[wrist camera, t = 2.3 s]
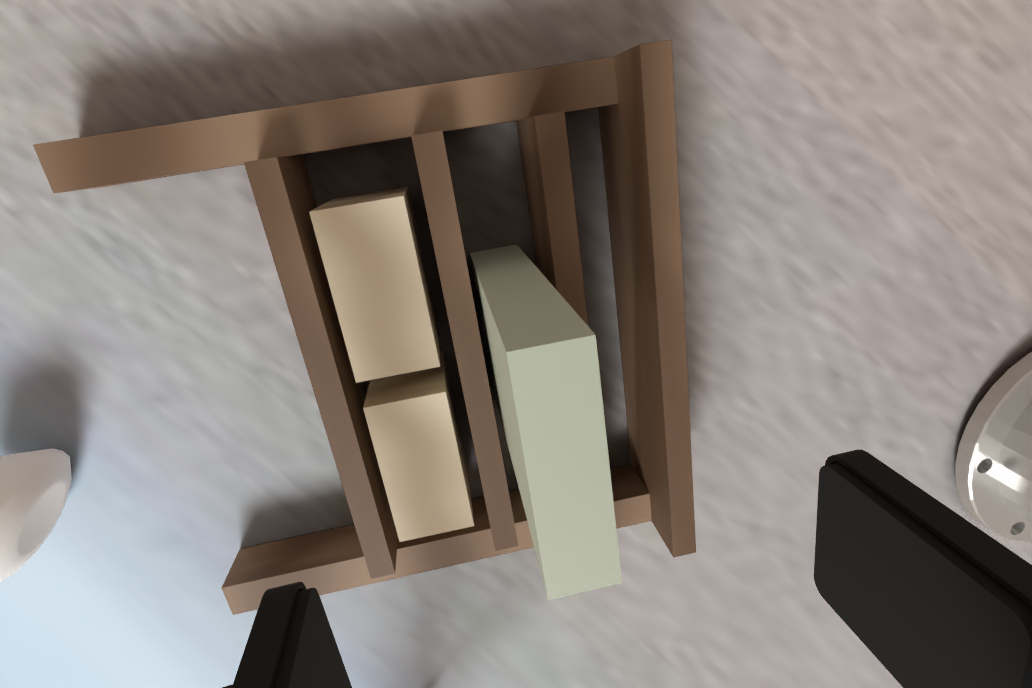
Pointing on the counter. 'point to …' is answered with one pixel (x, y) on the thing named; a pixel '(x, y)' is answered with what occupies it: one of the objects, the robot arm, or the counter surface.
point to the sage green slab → (550, 420)
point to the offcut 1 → (378, 282)
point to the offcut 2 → (420, 452)
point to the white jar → (30, 503)
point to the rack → (455, 287)
